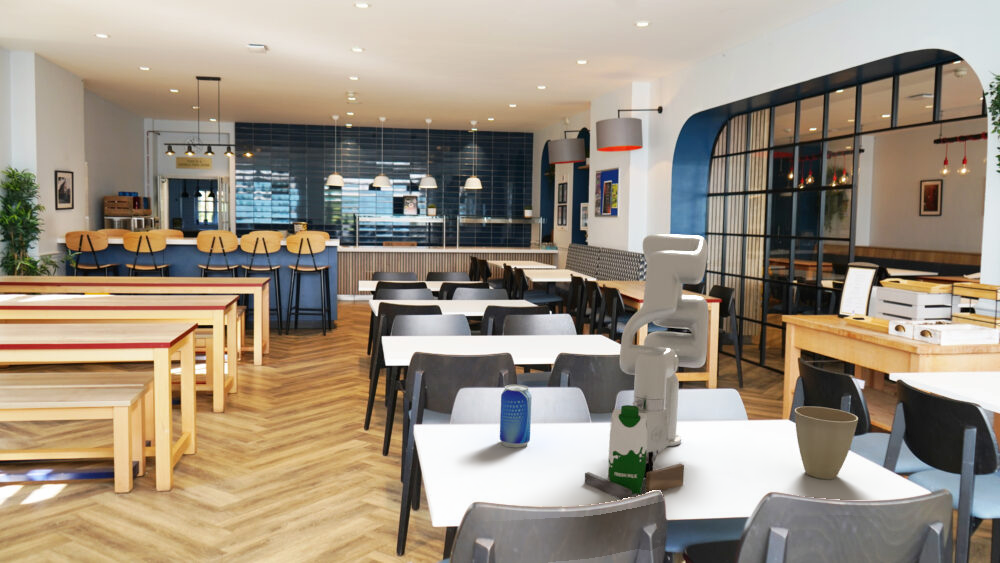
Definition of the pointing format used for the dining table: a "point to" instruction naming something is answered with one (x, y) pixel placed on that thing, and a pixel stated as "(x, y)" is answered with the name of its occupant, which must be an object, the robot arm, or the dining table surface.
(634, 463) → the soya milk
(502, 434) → the beer can
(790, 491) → the dining table surface
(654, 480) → the wooden planks
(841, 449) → the plant pot
